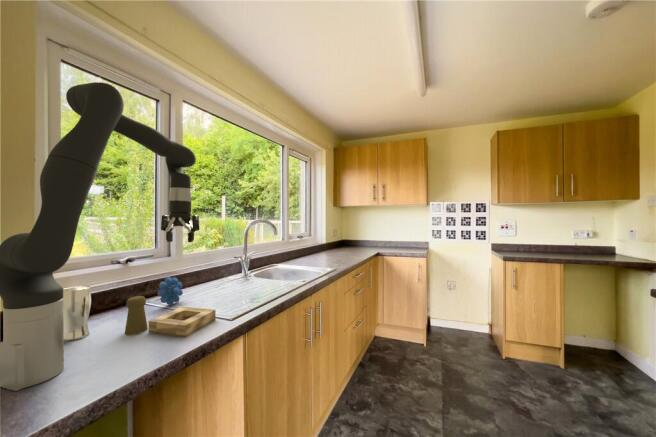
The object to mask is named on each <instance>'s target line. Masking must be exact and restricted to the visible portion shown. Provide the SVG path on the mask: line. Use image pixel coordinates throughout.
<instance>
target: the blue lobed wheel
mask: <svg viewBox="0 0 656 437" xmlns="http://www.w3.org/2000/svg"><path fill="white" fill-rule="evenodd" d="M158 287H159V288H160V289H159V290H157V295H158V297H160V302H161V303H163V304H165V303H166V304H167V305H168V306H171V305H174V303H178V302H179V301H180V297H181V296H183V290H182V288H183V284H182V282H180V281H179V278H177V277H174V276H173V277H170V276H167V277H166V278H164V281H160V283H159V284H158Z"/></svg>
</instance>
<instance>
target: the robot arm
mask: <svg viewBox="0 0 656 437" xmlns="http://www.w3.org/2000/svg"><path fill="white" fill-rule="evenodd" d="M65 98H66V103H67V104H68V106H69V107H70V108H71V110H72V111H73V112H74V113H75V114H77V115H79V117H80V118H79V120H78V121H77V122H76V124H75V125H74V126H73V127H72V128H71V130H70V131H69V132H67V133H66V134H65V135H64V136H63V137H62V138H60V140H59V141H58V142H57V143H56V144H55V145H54V147H53V148H52V149H51V151H50V152H49V154H48V156H47V158H46V161H45V162H44V165H43V168H42V170H41V172H40V177H39V189H40V196H41V207H40V211H39V214H38V216H37V219H36V221H35V224H33V227H32V229H31V231H30V232H22V233H17V234H14V235H11V236H9V237H7V238H6V239H4V241H2V242H1V243H0V298H1V300H2V307H3V308H2V310H3V311H2V312H3V313H2V316H3V318H2V319H3V320H2V322H3V325H2V326H3V327H2V330H3V332H2V334H3V339H2V340H3V341H1V342H0V388H1V387H3V388H2V389H5V388H6V390H10V391H14V392H17V391H20V390H22V389H24V388H29V387H31V386H35V385H38V384H41V383H44V382H46V381H49V380H51V379H52V378H54V377H56V376H58V375H60V374H61V372H63V371H64V369H65V366H64V365H65V363H64V362H65V354H64V351H65V346H64V345H65V344H64V342H65V341H64V313H63V310H64V306H63V289H64V287H63V286H62V285H61V284H59V283H58V282H57V280H56V279H55V278H54V275H53V273H54V272H57V271H59V270H60V269H61V268H62V267H64V266H65V264H66V263H67V262H68V261H69V259H70V258H71V254H72V251H73V247H74V243H75V239H76V234H77V228H78V226H79V222H80V217H81V215H82V212H83V210H84V207H85V204H86V201H87V198H88V195H89V192H90V189H91V187H92V186H93V183H94V180H95V178H96V175H97V172H98V170H99V166H100V164H101V160H102V158H103V155H104V153H105V151H106V149H107V148H106V147H107V145H108V143H109V140H110V137H111V135H112V134H113V132H115V133H118V134H120V135H121V136H123V137H126V138H128V139H130V140H132V141H133V142H135V143H137V144H139V145H141V146H143V147H144V148H145V149H147V150H149V151H151V152H153V153H154V154H156V155H157V156H160V157H162V158H165V164H166V168H167V171H168V172H167V173H168V175H169V180H170V181H169V182H170V183H169V195H168V198H169V199H168V203H169V204H168V211H169V215H168V214H167V215H166V214H165V215H164V214H162V215H161V222H160V223H161V224H160V231H164V232H165V240H166V242H167V243H172V242H173V241H174V240H173V238H174V237H173V233H174V232H173V231H174V229H175V228H177V227H184V228H185V230H187V243H193V242H194V241H195V240H194V239H195V232H198V231H200V217H199V215H197V214H196V215H195V214H193V215H192V214H191V213H192V178H191V175H189V174H188V173H185V172H183V169H182V168H190V167H193V166H194V165H195V164H196V162H197V158H196V155H195V153H194V152H193V151H192V150H191V149H190V148H189V147H187V146H185V145H183V144H181V143H178V142H177V141H174V140H171V139H170V138H169V137H167V136H166V135H164V134H163V133H162V132H160V131H158V130H157V129H155V128H154V127H152V126H149V125H146V124H144V123H142V122H140V121H137V120H134V119H133V118H130V117H128V116H126V115H124V114H123V112H124V108H125V107H124V106H125V104H124V99H123V96H122V94H121V92H120V91H119V90H118V89H117V88H116V87H115V86H114V85H113V84H112V85H111V84H109V83H107V82H98V81H96V82H94V81H93V82H87V83H81V84H76V85H73V86H71V87H69V88H68V90H67V91H66V94H65ZM169 221H170V222H169Z"/></svg>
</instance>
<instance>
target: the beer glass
mask: <svg viewBox="0 0 656 437" xmlns="http://www.w3.org/2000/svg"><path fill="white" fill-rule="evenodd" d="M91 305H92V293H91V285H76V286H70V287H65V288H63V306H64V310H63V313H64V342H73V341H77V340H80V339H81V340H82V339H84V338H86V337H88V336H90V329H89V325H88V322H89V315H90V311H91Z"/></svg>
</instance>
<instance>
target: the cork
mask: <svg viewBox="0 0 656 437" xmlns="http://www.w3.org/2000/svg"><path fill="white" fill-rule="evenodd" d="M125 303H126V305H125V306H126V307H127V309H128V311H127V316H126V324H125V329H124V334H125V335H127V336H131V335H132V336H133V335H139V334H142V333H144V332H146V331H147V330H149V326H148V321H147V315H146V310H145V305H146V303H147V299H146V297H145V296H144V295H143V296H142V295H137V296H136V295H135V296H132V297H130V298H128V299H127V300H126V302H125Z"/></svg>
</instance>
